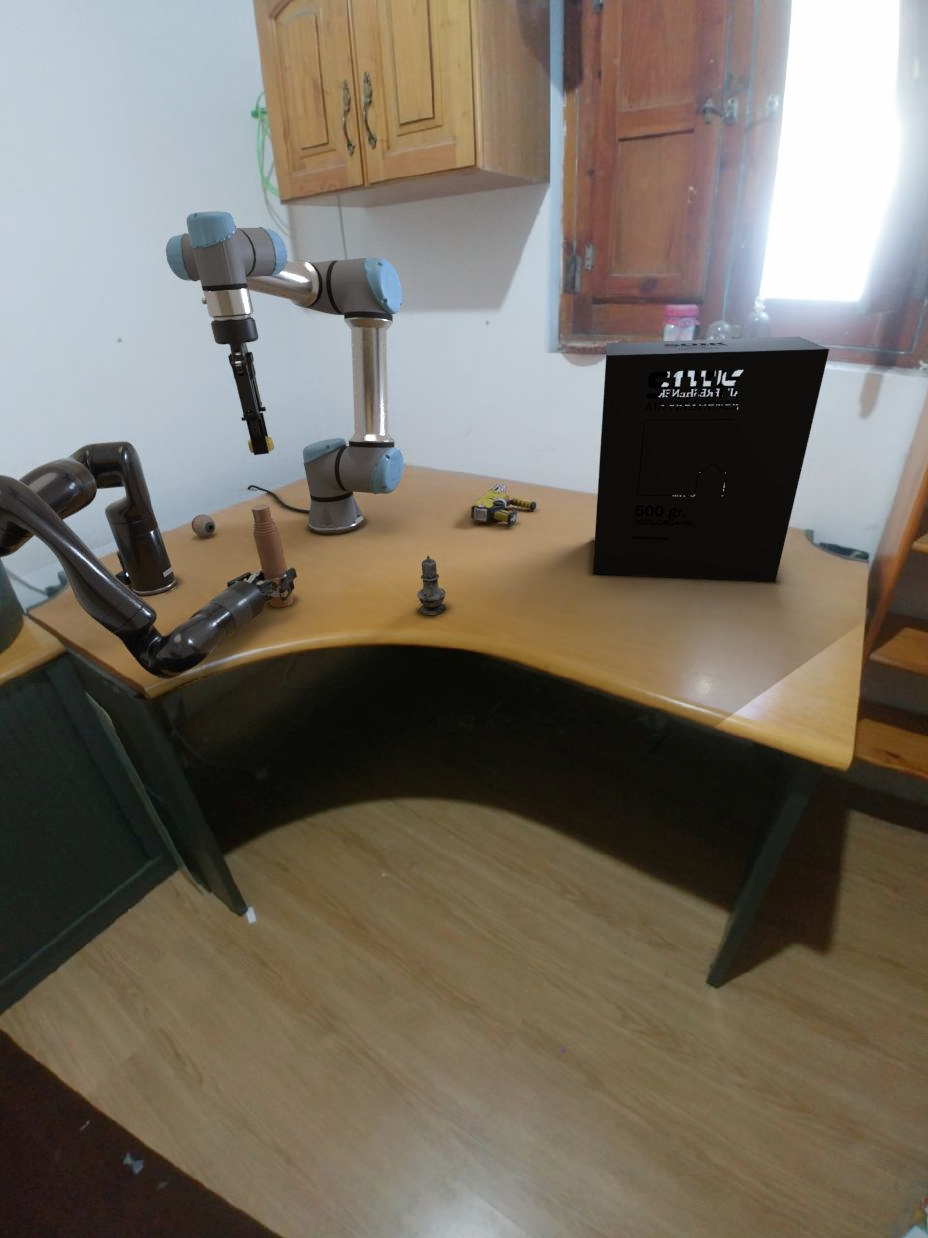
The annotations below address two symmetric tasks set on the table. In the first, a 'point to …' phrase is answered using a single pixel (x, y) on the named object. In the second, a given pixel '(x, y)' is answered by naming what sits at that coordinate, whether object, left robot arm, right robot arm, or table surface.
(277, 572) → the bottle
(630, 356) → the cardboard box
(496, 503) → the toy gun
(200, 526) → the eyeball
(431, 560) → the dark grey tiered piece
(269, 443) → the cap
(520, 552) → the table surface
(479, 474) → the table surface
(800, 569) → the table surface
